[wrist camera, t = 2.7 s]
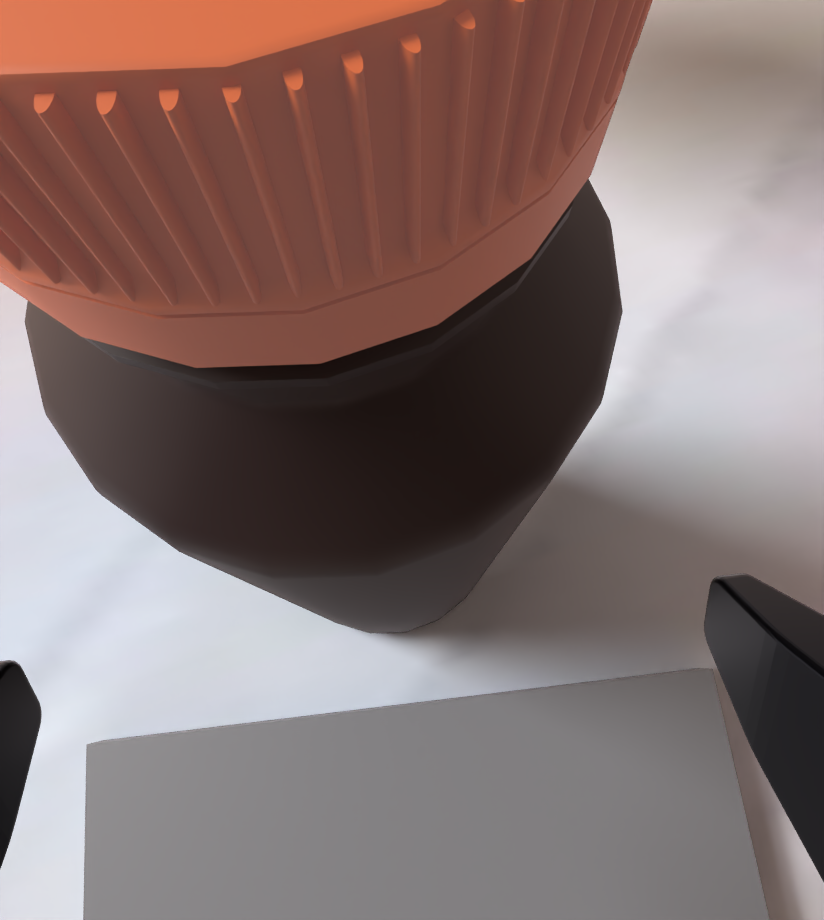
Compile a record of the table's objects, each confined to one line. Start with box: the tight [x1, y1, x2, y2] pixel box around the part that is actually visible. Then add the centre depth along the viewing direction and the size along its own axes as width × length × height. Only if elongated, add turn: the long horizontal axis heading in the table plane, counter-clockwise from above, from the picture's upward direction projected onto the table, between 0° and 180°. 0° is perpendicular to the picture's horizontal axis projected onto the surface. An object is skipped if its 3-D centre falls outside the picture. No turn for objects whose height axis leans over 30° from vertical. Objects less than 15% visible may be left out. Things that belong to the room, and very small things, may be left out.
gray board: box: [83, 668, 770, 920], centre depth 18 cm, size 11×18×1 cm, turn 97°
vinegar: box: [0, 0, 652, 633], centre depth 12 cm, size 7×7×20 cm
